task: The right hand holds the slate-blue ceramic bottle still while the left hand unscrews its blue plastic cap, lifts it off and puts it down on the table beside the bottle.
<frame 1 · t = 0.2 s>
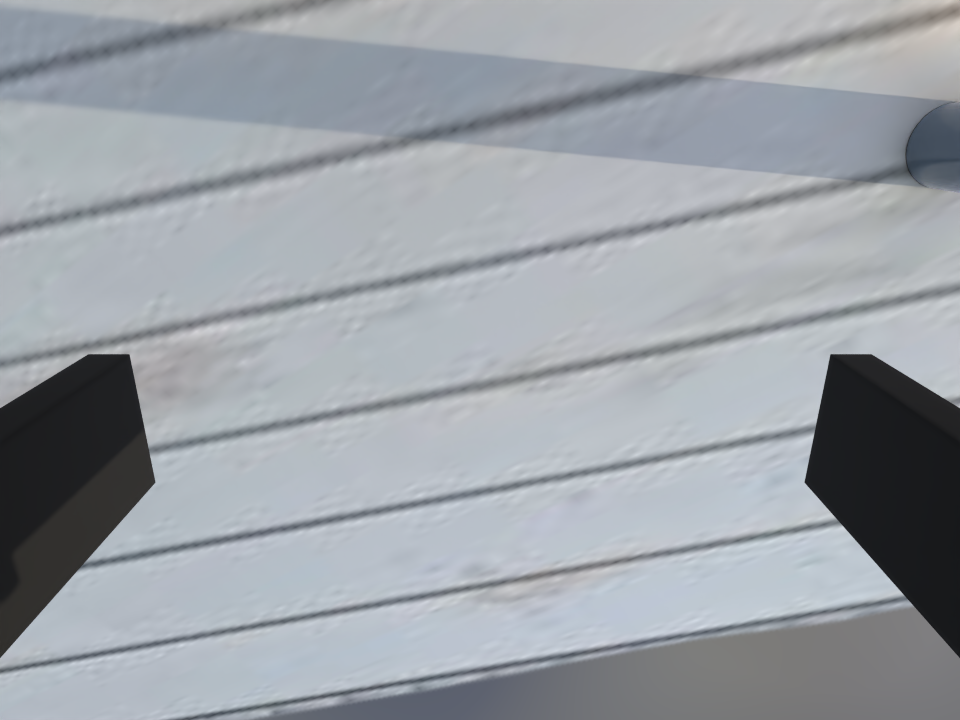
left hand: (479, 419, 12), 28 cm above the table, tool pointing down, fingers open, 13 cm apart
bottle: (947, 146, 37), on the table
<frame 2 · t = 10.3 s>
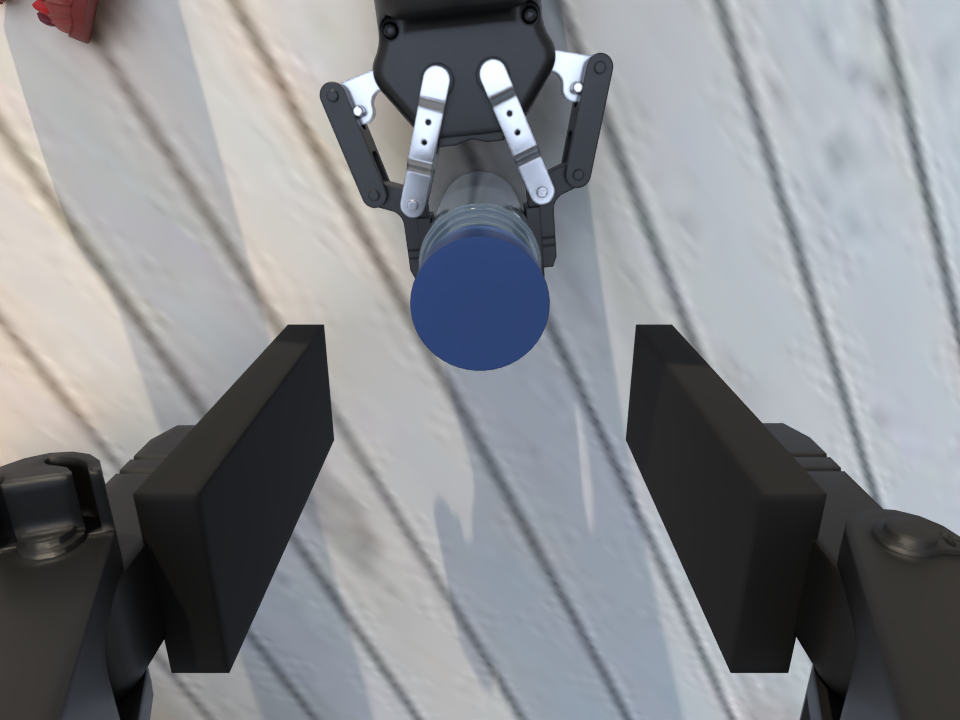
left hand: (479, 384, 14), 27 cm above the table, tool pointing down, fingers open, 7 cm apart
right hand: (485, 279, 34), fingers closed on bottle, 4 cm apart
bottle: (480, 211, 39), on the table, touching right hand
cap: (479, 303, 20), point 21 cm above the table, screwed on, not yet turned
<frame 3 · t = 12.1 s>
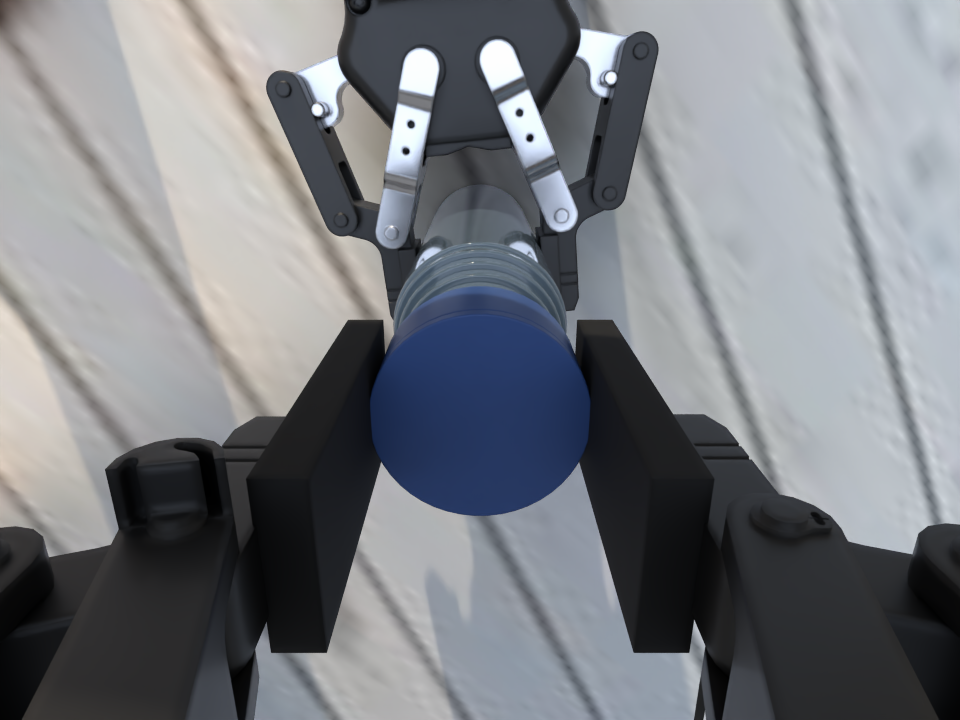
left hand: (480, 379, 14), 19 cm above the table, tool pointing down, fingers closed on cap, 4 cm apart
right hand: (487, 325, 27), fingers closed on bottle, 4 cm apart
bottle: (480, 233, 32), on the table, touching right hand
cap: (480, 414, 13), point 21 cm above the table, screwed on, not yet turned, touching left hand
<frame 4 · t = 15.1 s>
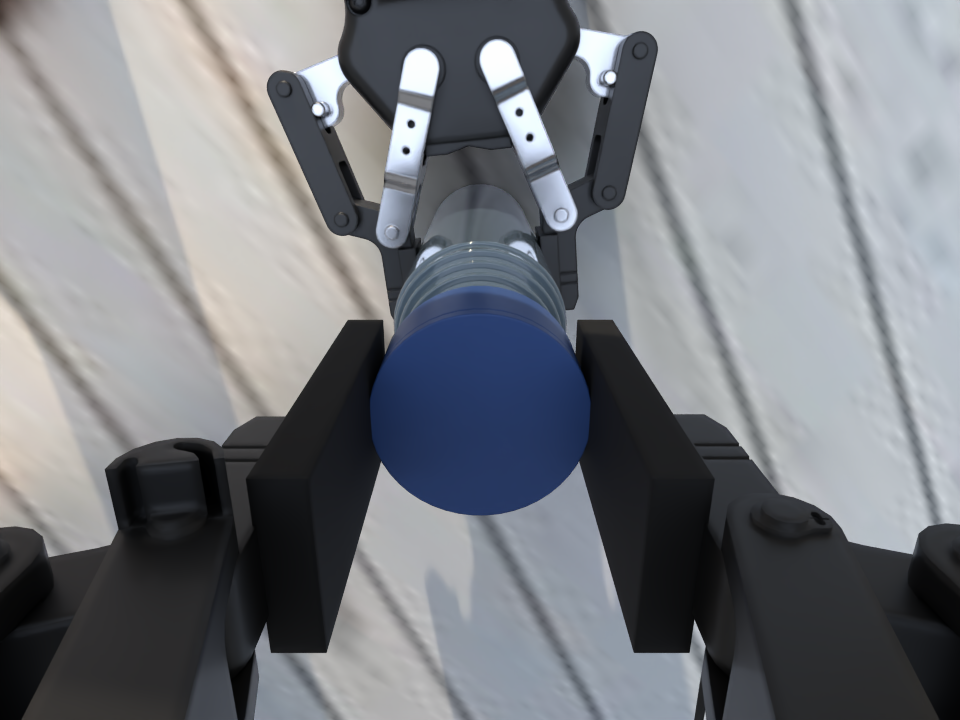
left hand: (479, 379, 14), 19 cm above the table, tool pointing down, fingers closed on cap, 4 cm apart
right hand: (487, 324, 27), fingers closed on bottle, 4 cm apart
bottle: (480, 233, 32), on the table, touching right hand
cap: (480, 414, 13), point 21 cm above the table, turned 89° so far, risen 0.1 cm, still on its thread, touching left hand
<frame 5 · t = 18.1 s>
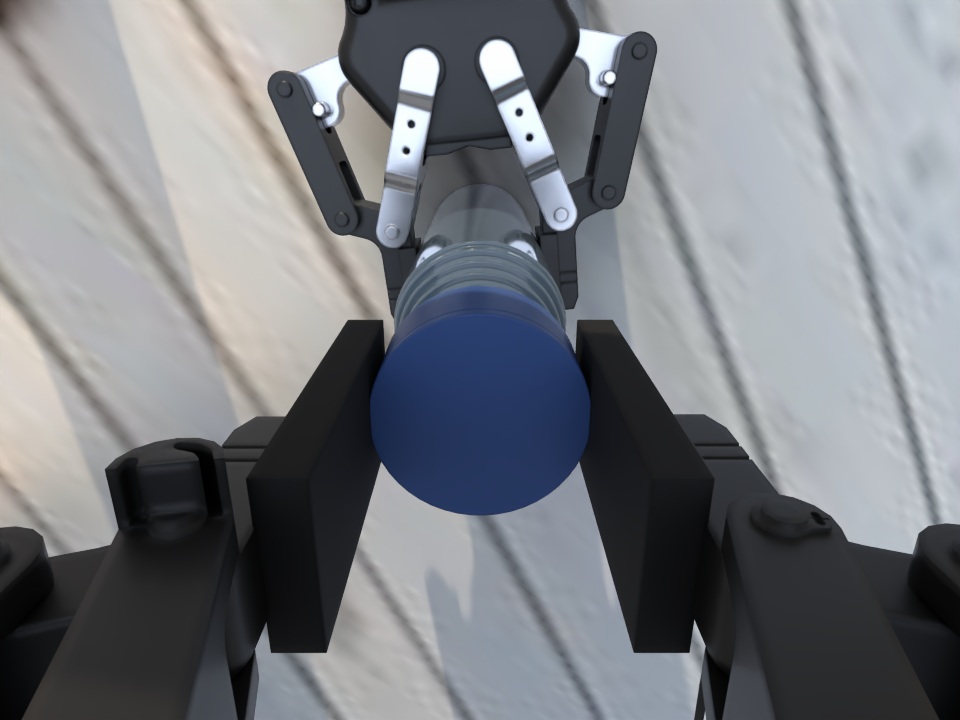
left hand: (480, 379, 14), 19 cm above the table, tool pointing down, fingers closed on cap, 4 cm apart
right hand: (487, 324, 27), fingers closed on bottle, 4 cm apart
bottle: (480, 233, 32), on the table, touching right hand
cap: (480, 414, 13), point 21 cm above the table, turned 178° so far, risen 0.2 cm, still on its thread, touching left hand
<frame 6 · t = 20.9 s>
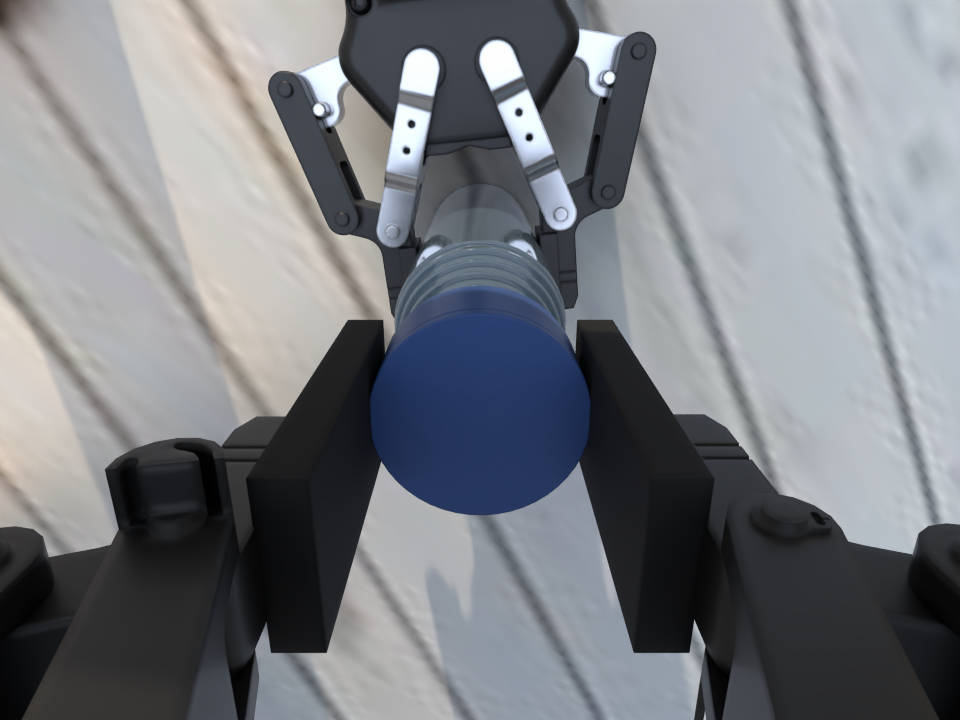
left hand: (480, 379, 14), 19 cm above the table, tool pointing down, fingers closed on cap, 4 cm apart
right hand: (487, 323, 27), fingers closed on bottle, 4 cm apart
bottle: (480, 232, 32), on the table, touching right hand
cap: (480, 414, 13), point 21 cm above the table, turned 267° so far, risen 0.2 cm, still on its thread, touching left hand
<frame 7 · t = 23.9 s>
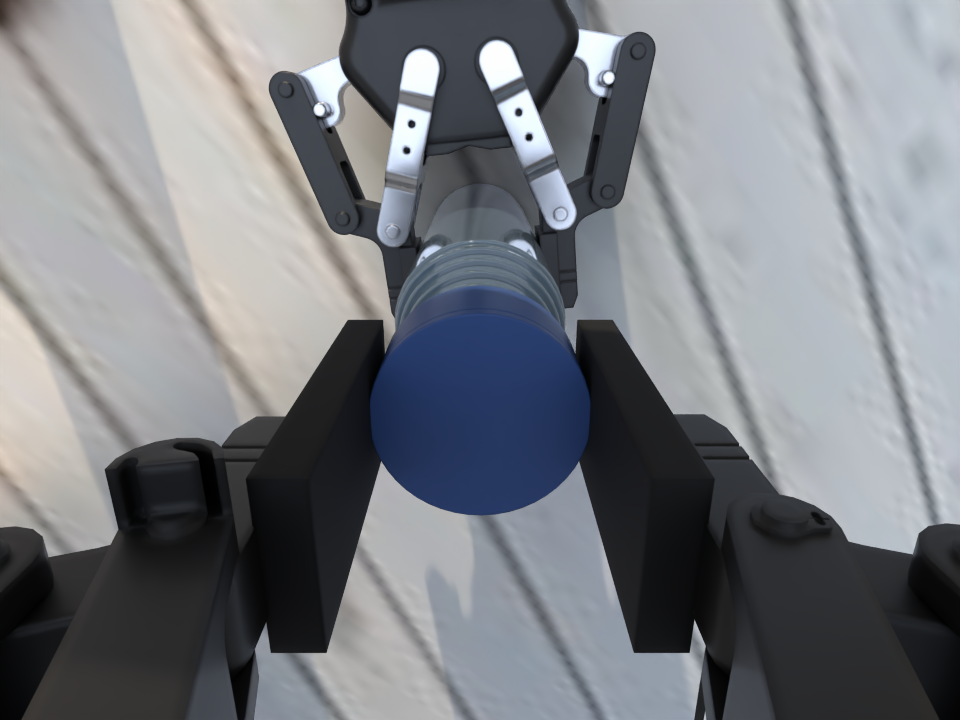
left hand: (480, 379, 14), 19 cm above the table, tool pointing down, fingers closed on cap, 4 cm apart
right hand: (487, 322, 27), fingers closed on bottle, 4 cm apart
bottle: (480, 232, 32), on the table, touching right hand
cap: (480, 414, 13), point 21 cm above the table, turned 357° so far, risen 0.3 cm, still on its thread, touching left hand
when the left hand's fingers open (1 cm above the table, at t = 34.4 s): cap drops 1 cm, point 2 cm above the table.
when the right hand's fingers open (7 cm above the table, at t = 35.7 s): bottle stays where it is, on the table.
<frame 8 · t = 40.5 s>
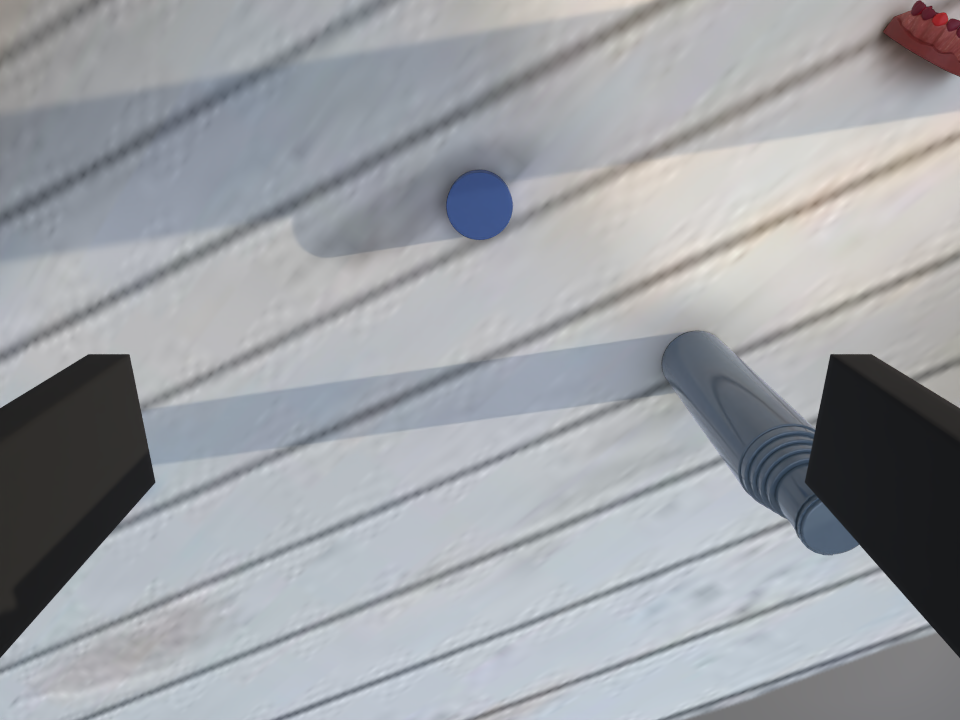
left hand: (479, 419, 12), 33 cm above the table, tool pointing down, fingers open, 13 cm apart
bottle: (694, 361, 48), on the table
cap: (479, 206, 42), point 2 cm above the table, off its thread
dental model: (944, 6, 40), on the table
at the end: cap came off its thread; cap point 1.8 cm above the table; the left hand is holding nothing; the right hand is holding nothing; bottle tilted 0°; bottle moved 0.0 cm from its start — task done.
